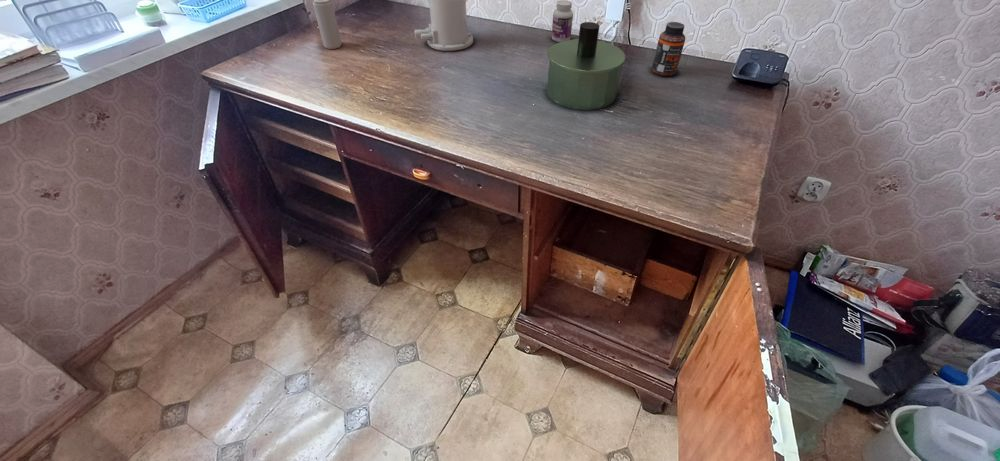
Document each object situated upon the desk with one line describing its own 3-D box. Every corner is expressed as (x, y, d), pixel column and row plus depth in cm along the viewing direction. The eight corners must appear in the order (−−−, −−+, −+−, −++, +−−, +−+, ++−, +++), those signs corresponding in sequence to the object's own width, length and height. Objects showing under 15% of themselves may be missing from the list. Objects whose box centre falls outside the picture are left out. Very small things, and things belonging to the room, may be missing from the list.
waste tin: (563, 114, 100) (567, 76, 94) (537, 82, 111) (539, 47, 105) (628, 103, 103) (635, 66, 97) (597, 74, 114) (602, 39, 108)
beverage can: (320, 48, 126) (307, 0, 117) (331, 41, 129) (319, -5, 121) (335, 51, 124) (323, 3, 116) (346, 44, 128) (335, -3, 119)
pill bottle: (548, 40, 129) (550, 3, 123) (555, 34, 133) (558, -3, 126) (566, 44, 128) (569, 6, 121) (573, 37, 131) (577, 0, 124)
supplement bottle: (662, 79, 112) (674, 31, 104) (646, 69, 116) (656, 22, 108) (681, 74, 114) (694, 26, 106) (664, 64, 118) (676, 18, 110)
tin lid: (565, 81, 94) (569, 45, 89) (536, 49, 105) (538, 16, 100) (638, 70, 98) (646, 35, 93) (602, 40, 109) (607, 8, 104)
